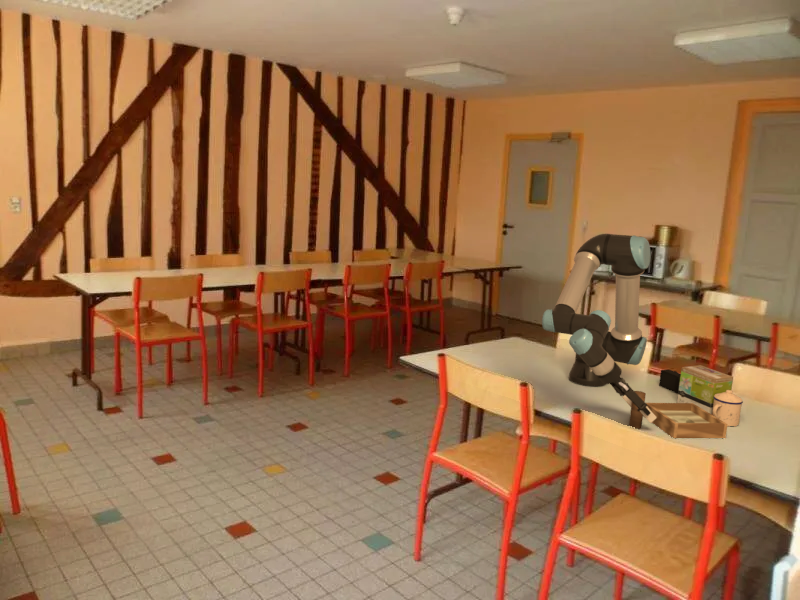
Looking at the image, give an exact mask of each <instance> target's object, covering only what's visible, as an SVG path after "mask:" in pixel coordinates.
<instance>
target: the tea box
mask: <svg viewBox="0 0 800 600" xmlns="http://www.w3.org/2000/svg"><path fill="white" fill-rule="evenodd" d="M680 374H681V377H680V384H679V391H678V394H677V400H676V401H677V402H676V403H693V404H695V405H697V406H698V407H700V408H702V409H703V410H705V411H707V412H708V413H710V414H711V415H712V410H713V403H714V395H715V394H718V393H723V392H726V390H731V391H732V389H733V388H732V387H733V383H734V382H733V381H734V376H732V375H730V374H727V373H724V372H721V371H718V370H715V369H712V368H710V367H707V366H704V365H702V364H697V365H691V366H682V367H681V370H680Z"/></svg>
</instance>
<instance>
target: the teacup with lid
mask: <svg viewBox="0 0 800 600" xmlns="http://www.w3.org/2000/svg"><path fill="white" fill-rule="evenodd" d="M743 403H744V401H743V399H742V398H741V397H739V396H737V395H736V394H735V393H733V390H732V389H731V390H726V392H723V393H718V394H715V395H714V403H713V410H712V415H713V416H715V417H716V418H718V419H720V420H721V421H723V422H725V423H726V424H728V425H727V427H730V426H734V427H737V425H738V426H739V423H740V419H741V412H742V405H743Z"/></svg>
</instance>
